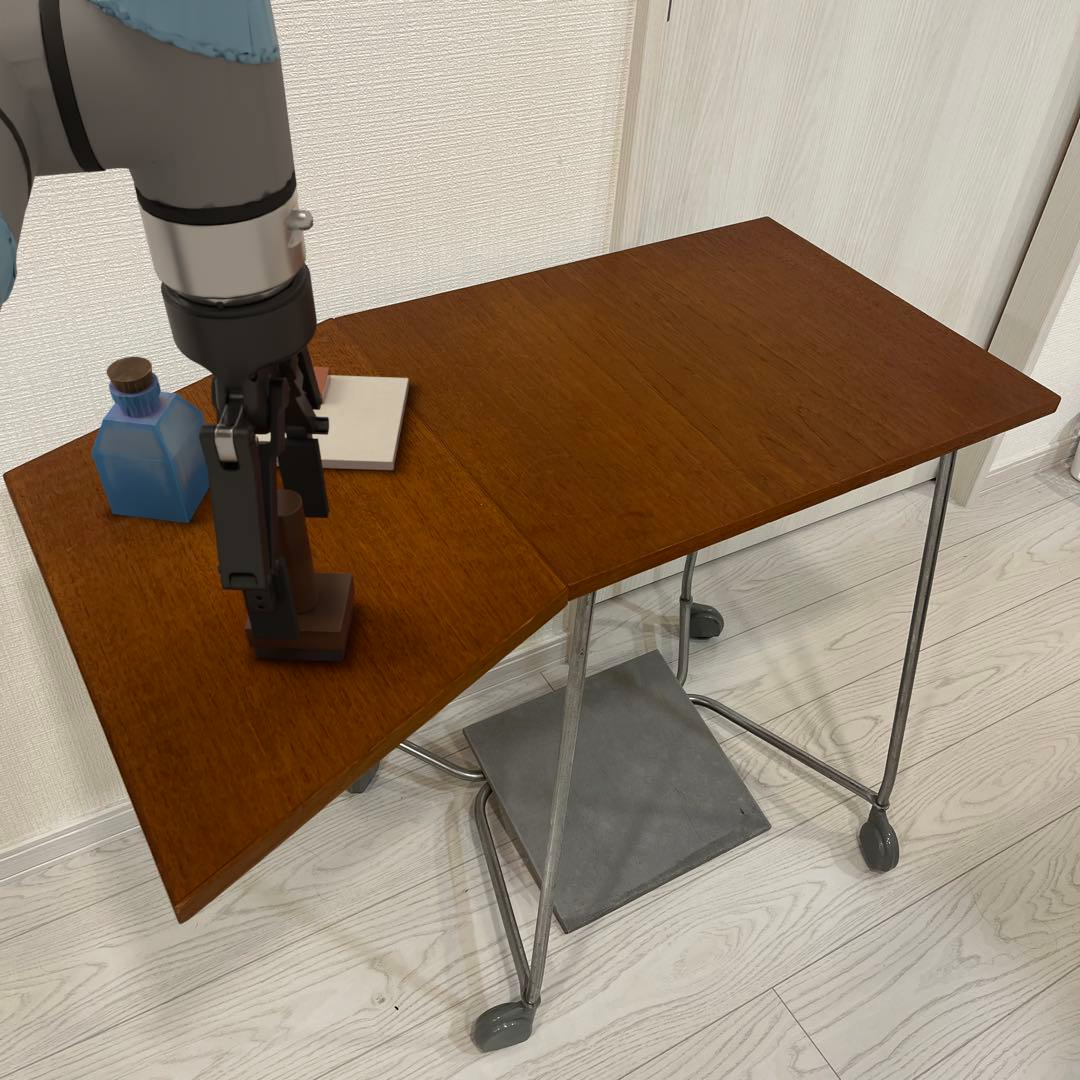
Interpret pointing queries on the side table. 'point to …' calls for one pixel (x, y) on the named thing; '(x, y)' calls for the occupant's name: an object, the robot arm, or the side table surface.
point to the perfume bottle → (150, 447)
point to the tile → (361, 422)
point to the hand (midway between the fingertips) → (294, 570)
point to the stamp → (308, 595)
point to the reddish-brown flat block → (322, 380)
